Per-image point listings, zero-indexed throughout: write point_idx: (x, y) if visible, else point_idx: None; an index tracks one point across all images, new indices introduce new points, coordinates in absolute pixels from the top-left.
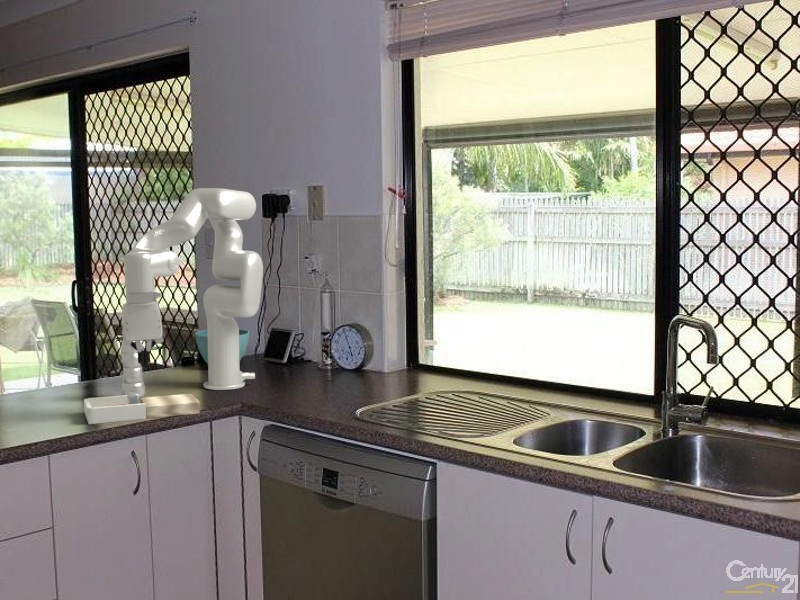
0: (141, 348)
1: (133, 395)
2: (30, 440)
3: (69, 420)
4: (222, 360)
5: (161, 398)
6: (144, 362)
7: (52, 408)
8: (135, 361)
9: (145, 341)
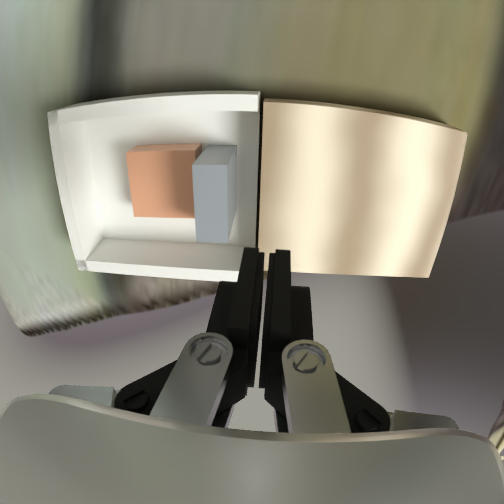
0: (230, 417)
1: (213, 225)
2: (30, 311)
3: (49, 183)
4: None
5: (345, 156)
6: (259, 329)
7: (11, 23)
8: None
9: (291, 418)
